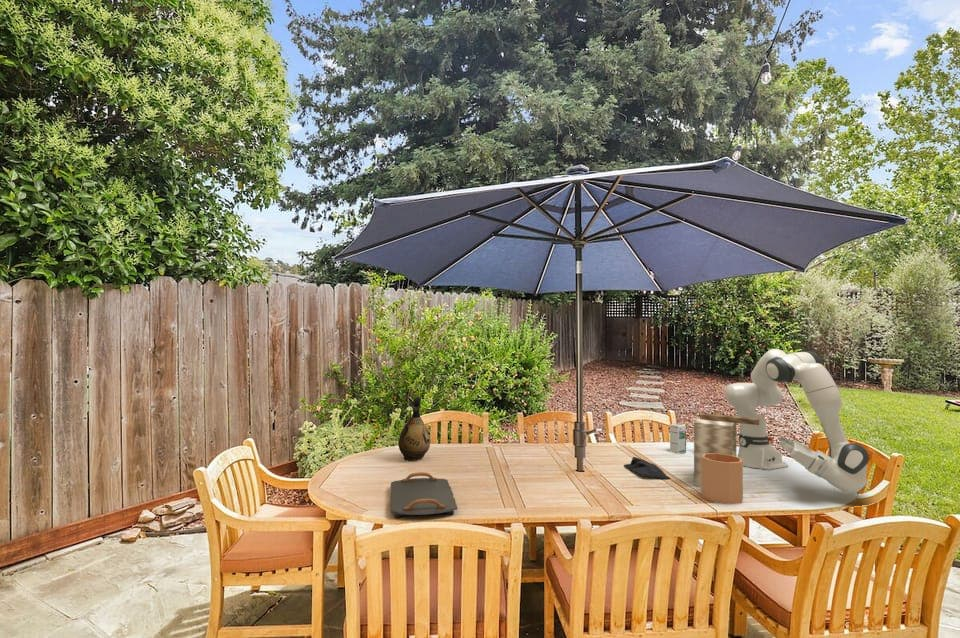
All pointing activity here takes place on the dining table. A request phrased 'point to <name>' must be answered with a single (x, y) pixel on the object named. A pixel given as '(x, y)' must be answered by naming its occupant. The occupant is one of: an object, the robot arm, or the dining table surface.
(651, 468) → the black cloth
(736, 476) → the pot
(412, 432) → the ceramic jug
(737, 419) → the slat
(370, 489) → the dining table surface
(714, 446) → the zigzag patterned cylinder
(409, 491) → the serving board
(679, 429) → the syrup box
